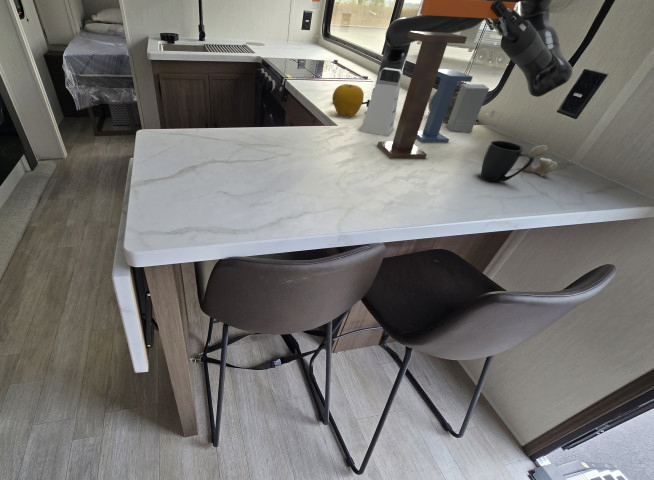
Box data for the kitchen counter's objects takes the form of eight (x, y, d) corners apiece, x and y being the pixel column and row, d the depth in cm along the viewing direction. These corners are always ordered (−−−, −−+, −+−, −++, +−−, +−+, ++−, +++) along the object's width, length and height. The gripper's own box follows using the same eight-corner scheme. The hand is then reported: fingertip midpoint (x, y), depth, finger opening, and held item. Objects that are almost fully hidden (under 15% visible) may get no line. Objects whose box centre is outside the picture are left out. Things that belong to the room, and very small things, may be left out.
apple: (342, 120, 141) (348, 89, 133) (323, 112, 149) (328, 82, 141) (366, 118, 146) (373, 87, 138) (346, 110, 154) (352, 80, 146)
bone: (562, 170, 105) (570, 143, 98) (547, 184, 105) (554, 158, 97) (533, 162, 111) (538, 136, 103) (519, 176, 111) (523, 150, 103)
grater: (366, 124, 139) (380, 65, 125) (392, 128, 135) (409, 69, 122) (360, 130, 131) (373, 69, 118) (387, 135, 128) (404, 73, 115)
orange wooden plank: (500, 18, 95) (506, 2, 93) (509, 19, 92) (516, 2, 90) (419, 14, 93) (424, -3, 90) (426, 15, 90) (431, -3, 87)
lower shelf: (433, 133, 134) (456, 69, 120) (449, 143, 125) (475, 76, 111) (409, 132, 133) (429, 68, 119) (423, 143, 124) (447, 75, 110)
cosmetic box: (465, 128, 141) (483, 83, 131) (471, 133, 136) (491, 87, 125) (444, 126, 142) (461, 82, 131) (450, 131, 136) (467, 86, 126)
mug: (508, 191, 95) (527, 157, 89) (469, 175, 103) (484, 142, 96) (523, 186, 99) (543, 152, 92) (485, 171, 106) (500, 139, 100)
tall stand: (409, 146, 121) (446, 32, 99) (425, 158, 112) (469, 37, 90) (377, 145, 119) (407, 30, 98) (390, 158, 110) (427, 35, 89)
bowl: (467, 122, 148) (477, 96, 142) (440, 124, 143) (450, 97, 137) (443, 113, 158) (452, 88, 151) (417, 115, 153) (425, 89, 146)
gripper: (517, 28, 102) (485, -14, 94) (553, 32, 91) (520, -14, 84) (495, 54, 105) (462, 15, 98) (526, 61, 95) (493, 19, 88)
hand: (489, 2), depth 91 cm, fingers closed on orange wooden plank, 4 cm apart
